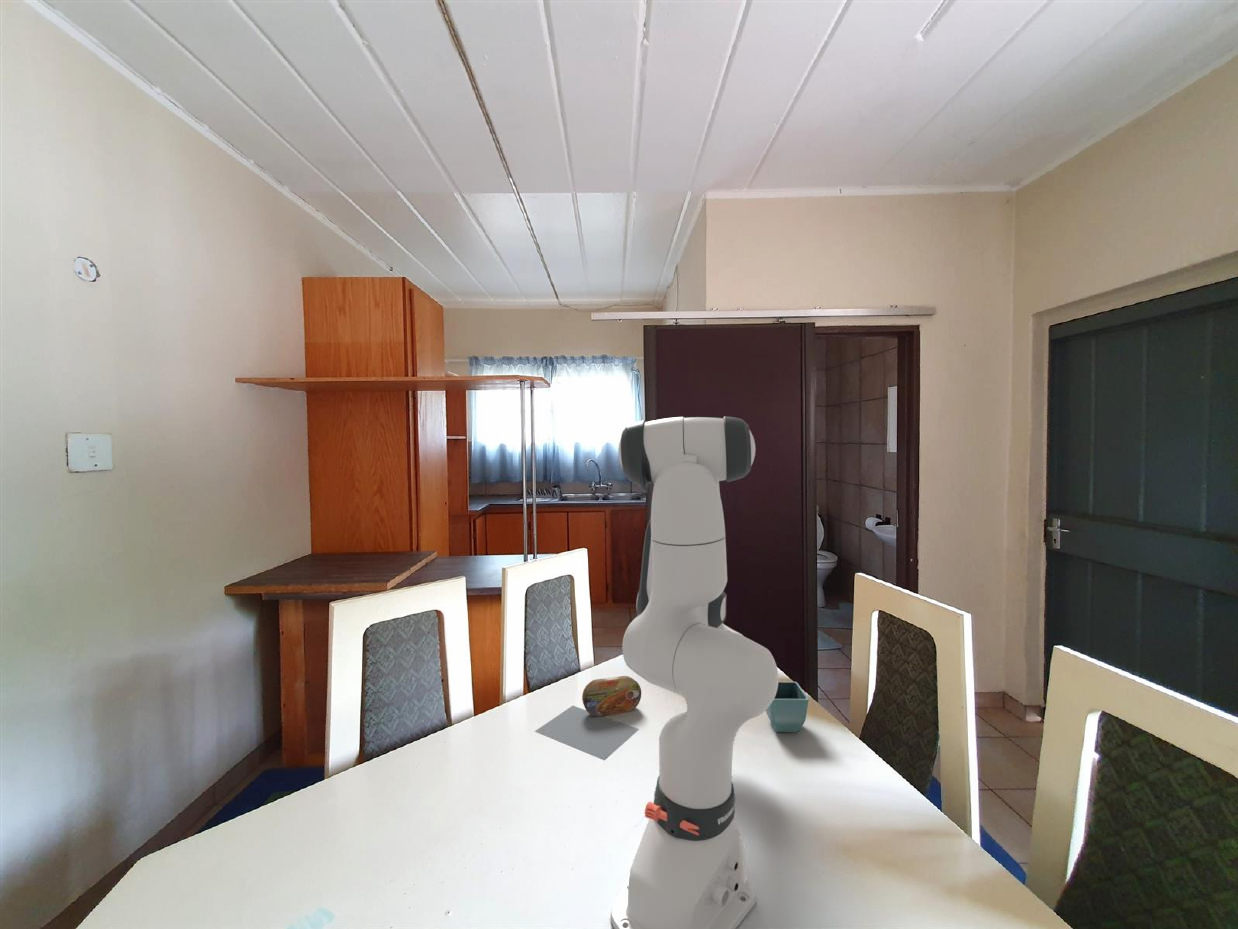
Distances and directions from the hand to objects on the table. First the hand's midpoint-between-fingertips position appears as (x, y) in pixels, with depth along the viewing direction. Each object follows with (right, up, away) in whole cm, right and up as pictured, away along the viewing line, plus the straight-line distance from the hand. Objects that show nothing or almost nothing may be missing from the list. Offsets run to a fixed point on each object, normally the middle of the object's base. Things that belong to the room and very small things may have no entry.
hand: (701, 694), depth 112 cm
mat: (-26, -11, +4) cm, 29 cm away
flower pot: (+20, -11, +6) cm, 24 cm away
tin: (-21, -11, +13) cm, 26 cm away
